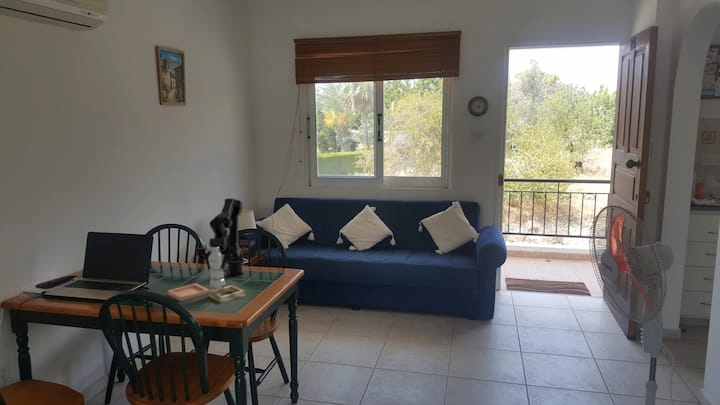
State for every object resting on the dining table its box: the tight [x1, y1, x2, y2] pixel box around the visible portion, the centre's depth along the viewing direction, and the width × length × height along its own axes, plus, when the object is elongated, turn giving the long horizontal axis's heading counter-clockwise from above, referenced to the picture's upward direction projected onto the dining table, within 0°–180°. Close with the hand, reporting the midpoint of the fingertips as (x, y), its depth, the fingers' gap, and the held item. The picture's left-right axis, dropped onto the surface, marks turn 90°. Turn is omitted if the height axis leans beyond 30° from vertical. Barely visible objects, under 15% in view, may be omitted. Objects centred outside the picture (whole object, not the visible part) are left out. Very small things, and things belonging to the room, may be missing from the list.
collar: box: [208, 284, 246, 304], centre depth 223 cm, size 12×12×2 cm
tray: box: [167, 283, 211, 303], centre depth 227 cm, size 14×14×2 cm
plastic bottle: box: [208, 246, 226, 290], centre depth 221 cm, size 6×7×20 cm
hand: (215, 269), depth 220 cm, fingers closed on plastic bottle, 6 cm apart
